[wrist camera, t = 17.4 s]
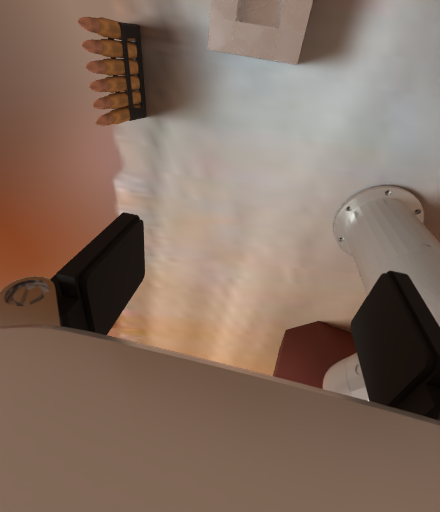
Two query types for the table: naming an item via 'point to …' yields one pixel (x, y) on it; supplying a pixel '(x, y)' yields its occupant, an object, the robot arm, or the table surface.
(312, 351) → the bucket
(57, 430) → the robot arm
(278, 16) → the block
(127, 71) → the ammunition clip
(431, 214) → the table surface
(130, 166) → the table surface
